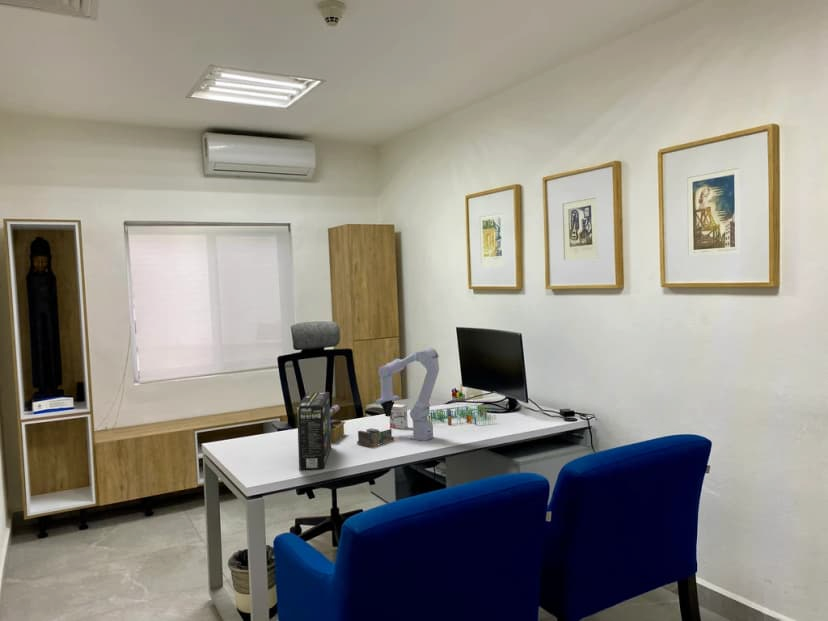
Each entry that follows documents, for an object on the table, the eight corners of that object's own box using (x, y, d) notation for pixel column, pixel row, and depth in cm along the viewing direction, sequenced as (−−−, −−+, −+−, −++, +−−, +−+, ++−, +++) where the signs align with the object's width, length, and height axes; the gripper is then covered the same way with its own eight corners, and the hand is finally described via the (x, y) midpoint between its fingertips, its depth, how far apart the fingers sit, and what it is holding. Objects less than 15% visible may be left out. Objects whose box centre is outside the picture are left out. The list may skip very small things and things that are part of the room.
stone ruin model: (380, 437, 303) (380, 424, 303) (394, 439, 297) (393, 426, 297) (357, 444, 291) (356, 430, 291) (370, 447, 285) (369, 433, 285)
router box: (325, 469, 254) (322, 405, 252) (298, 471, 253) (295, 406, 252) (332, 446, 289) (329, 390, 288) (308, 448, 289) (306, 391, 287)
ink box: (389, 428, 322) (388, 405, 322) (394, 425, 327) (393, 403, 326) (403, 429, 318) (402, 406, 318) (408, 427, 323) (407, 404, 322)
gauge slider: (371, 436, 296) (371, 428, 296) (381, 438, 291) (381, 430, 291) (366, 437, 293) (366, 429, 293) (377, 440, 289) (377, 431, 288)
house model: (477, 412, 354) (477, 404, 353) (501, 423, 326) (501, 414, 326) (420, 419, 342) (420, 411, 341) (441, 431, 314) (440, 421, 314)
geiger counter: (346, 433, 314) (345, 404, 313) (330, 447, 288) (329, 415, 288) (329, 433, 315) (328, 404, 315) (312, 447, 290) (310, 415, 289)
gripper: (391, 386, 315) (392, 412, 316) (370, 390, 304) (371, 417, 305) (401, 387, 311) (402, 414, 311) (380, 392, 300) (382, 419, 300)
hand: (387, 416), depth 308 cm, fingers closed
